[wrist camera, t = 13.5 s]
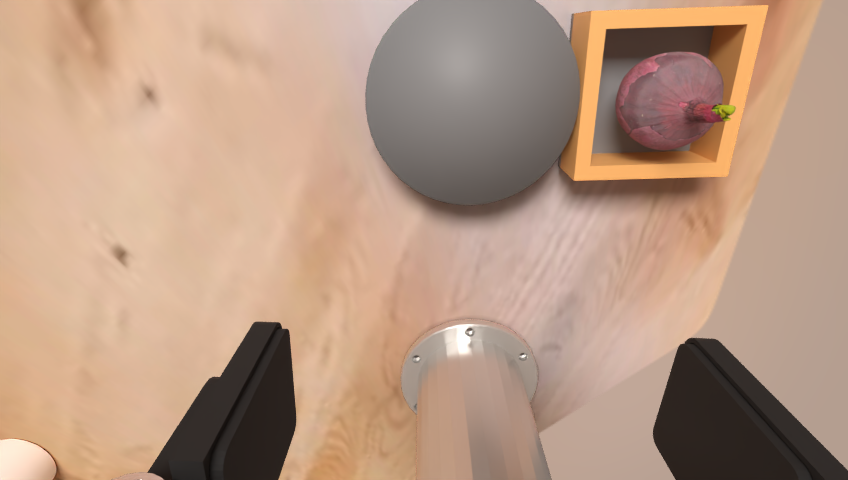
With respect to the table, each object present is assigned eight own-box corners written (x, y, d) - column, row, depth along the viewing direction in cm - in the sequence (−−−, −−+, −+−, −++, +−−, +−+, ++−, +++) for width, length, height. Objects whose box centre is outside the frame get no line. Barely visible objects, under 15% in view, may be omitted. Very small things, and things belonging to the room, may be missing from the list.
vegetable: (687, 126, 34) (784, 160, 25) (602, 146, 35) (666, 186, 25) (685, 38, 32) (792, 39, 22) (594, 61, 32) (661, 72, 23)
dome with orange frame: (691, 184, 36) (721, 200, 33) (377, 192, 37) (372, 210, 33) (734, -21, 31) (776, -29, 27) (363, -9, 31) (355, -15, 27)
